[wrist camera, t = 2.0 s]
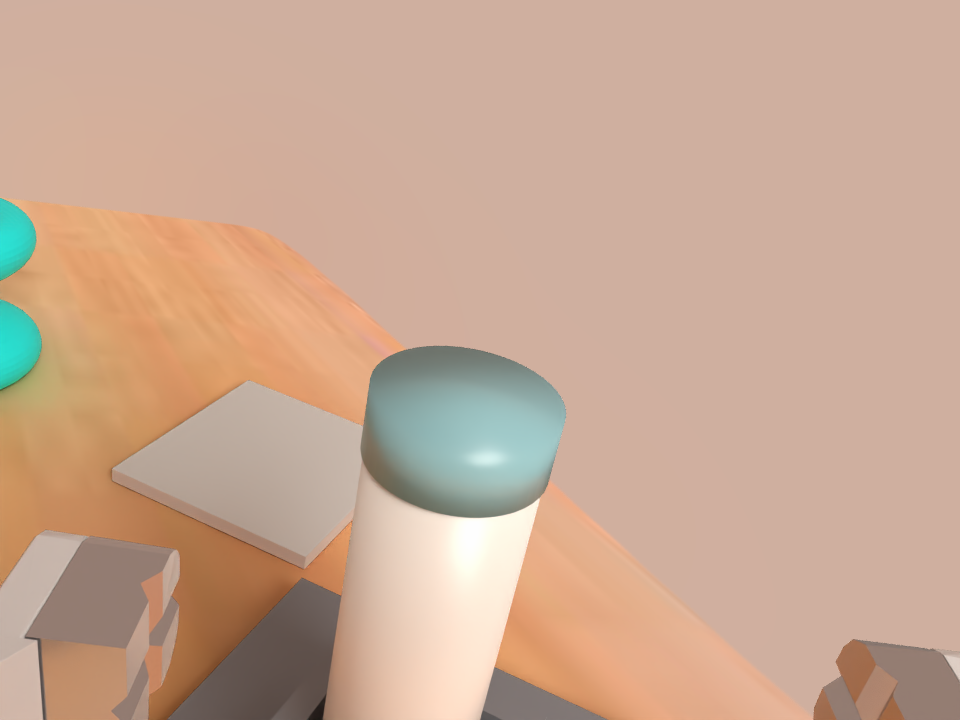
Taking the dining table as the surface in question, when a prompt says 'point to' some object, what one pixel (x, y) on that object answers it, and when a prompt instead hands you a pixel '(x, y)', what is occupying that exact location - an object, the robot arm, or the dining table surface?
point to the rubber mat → (256, 471)
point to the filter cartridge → (439, 531)
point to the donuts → (4, 327)
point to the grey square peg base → (324, 672)
